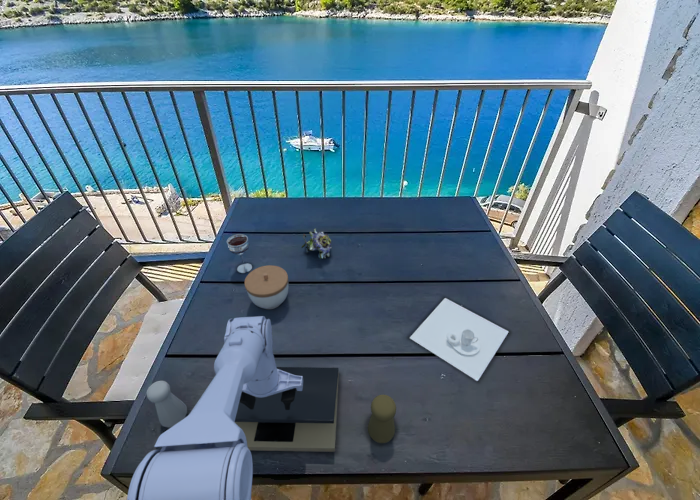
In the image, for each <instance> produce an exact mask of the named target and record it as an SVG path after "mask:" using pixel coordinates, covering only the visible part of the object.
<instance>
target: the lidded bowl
mask: <svg viewBox="0 0 700 500" xmlns="http://www.w3.org/2000/svg"><path fill="white" fill-rule="evenodd" d="M289 284H290V283H289V275H288V272H287V271H286V269H284V268H282V267H281V266H278V265H269V264H268V265H261V266H259V267H256V268H255V269H253V270H250V271H249V272H248V274H247V275H246V277H245V279H244V288H245V290H246V293H247V295H248V298H249V299H250V301H251V302H252V303H253V304H254V305H255V306H257V307H258V308H261V309H265V310H274V309H276V308H278V307H279V306H281V305H282V303H283V304H284V301H285V300H286V299H287V297H288V294H289V290H290V287H289Z"/></svg>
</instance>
